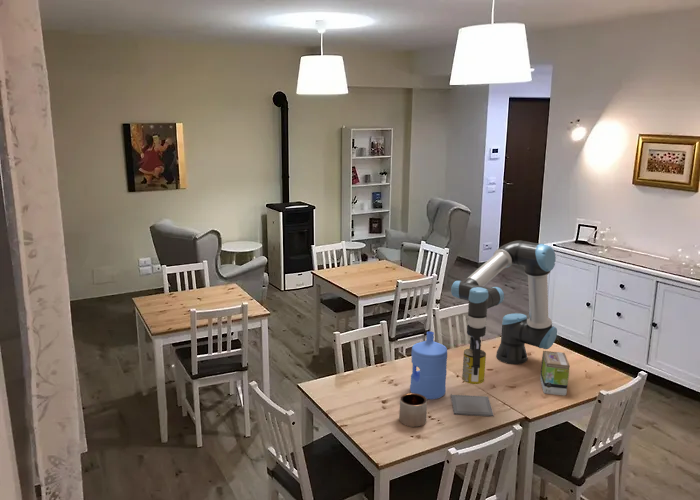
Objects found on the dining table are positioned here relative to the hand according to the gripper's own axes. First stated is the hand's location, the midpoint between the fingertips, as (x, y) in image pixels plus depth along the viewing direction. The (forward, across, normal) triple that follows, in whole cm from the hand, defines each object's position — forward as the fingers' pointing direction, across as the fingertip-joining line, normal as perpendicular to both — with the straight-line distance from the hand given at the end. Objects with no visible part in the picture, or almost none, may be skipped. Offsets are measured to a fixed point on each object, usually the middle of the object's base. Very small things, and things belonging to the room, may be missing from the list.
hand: (473, 376), depth 242 cm
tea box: (+14, -22, +39) cm, 47 cm away
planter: (+14, +15, -25) cm, 32 cm away
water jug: (+14, -11, -18) cm, 25 cm away
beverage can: (+2, 0, 0) cm, 2 cm away
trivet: (+14, 0, 0) cm, 14 cm away
